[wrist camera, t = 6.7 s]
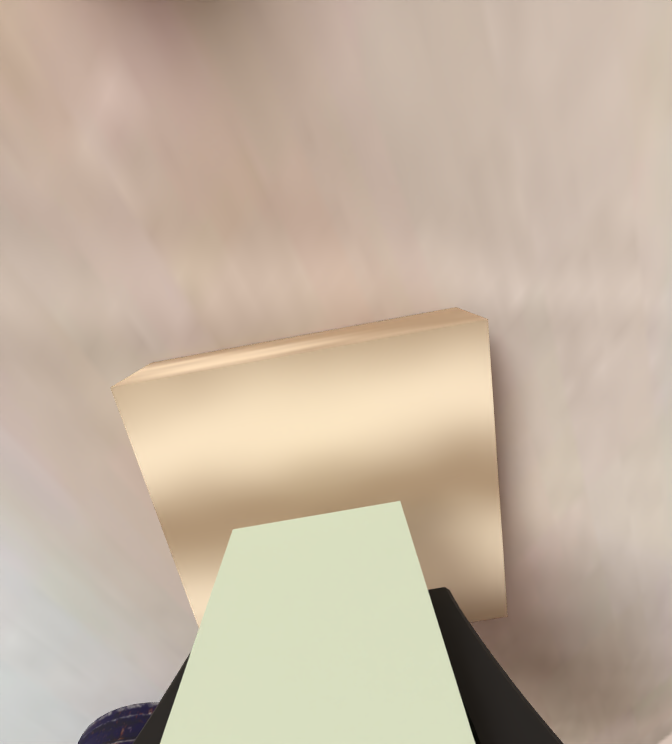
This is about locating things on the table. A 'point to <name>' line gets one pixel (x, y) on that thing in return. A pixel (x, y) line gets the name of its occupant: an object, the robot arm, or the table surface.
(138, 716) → the storage jar
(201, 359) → the birch plinth
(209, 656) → the sage block
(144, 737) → the robot arm
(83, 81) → the table surface
